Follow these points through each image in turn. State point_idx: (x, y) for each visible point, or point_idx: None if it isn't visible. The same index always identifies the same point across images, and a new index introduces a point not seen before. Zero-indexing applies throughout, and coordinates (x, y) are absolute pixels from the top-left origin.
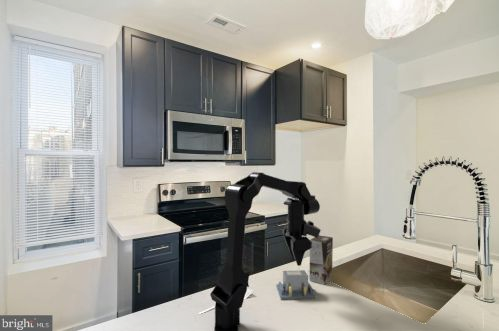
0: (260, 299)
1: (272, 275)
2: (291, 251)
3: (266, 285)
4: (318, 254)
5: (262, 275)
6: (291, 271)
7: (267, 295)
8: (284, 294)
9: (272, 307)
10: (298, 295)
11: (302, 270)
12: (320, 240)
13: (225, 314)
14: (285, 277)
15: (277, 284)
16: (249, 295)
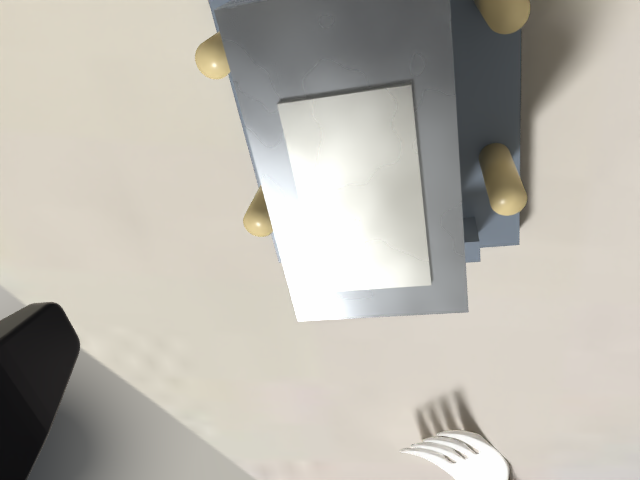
0: (502, 366)
1: (81, 267)
2: (30, 418)
3: (276, 319)
4: None
5: (111, 336)
6: (307, 228)
7: (441, 322)
8: (469, 211)
9: (634, 301)
10: (494, 74)
11: (228, 51)
12: None
13: None
14: (459, 301)
15: (278, 254)
16: (464, 431)
